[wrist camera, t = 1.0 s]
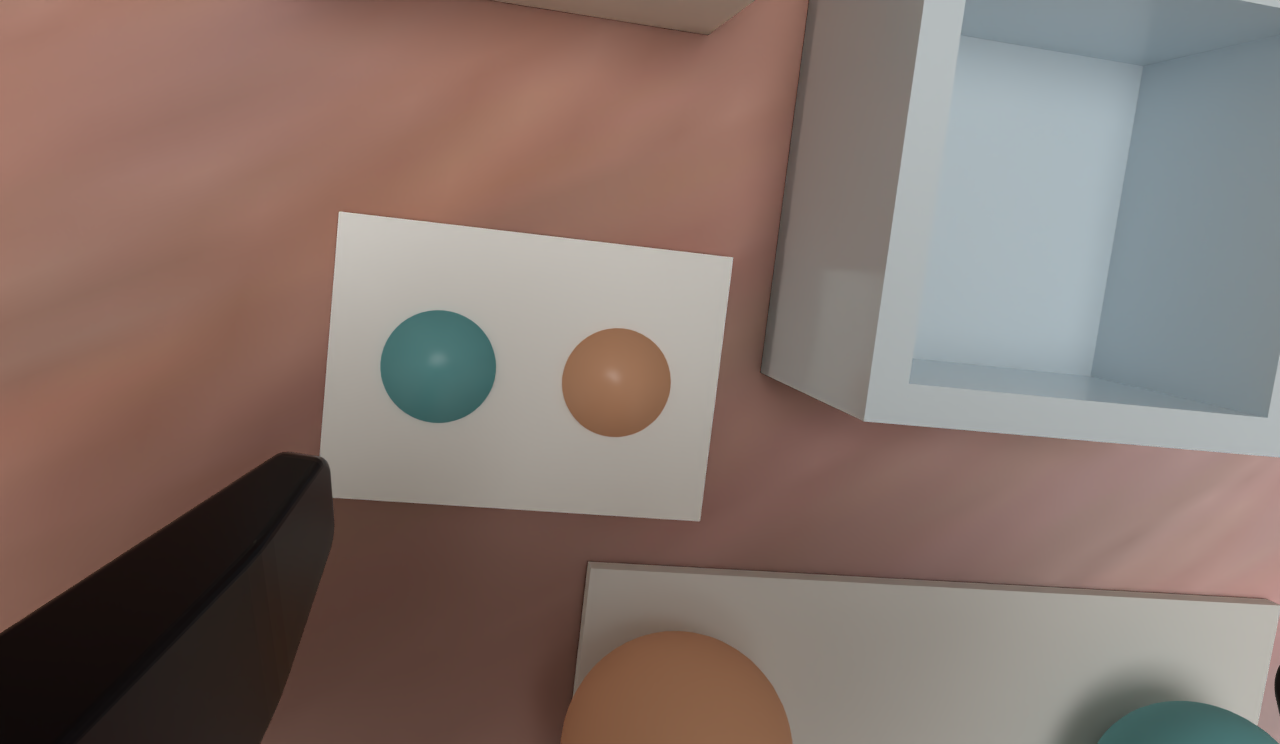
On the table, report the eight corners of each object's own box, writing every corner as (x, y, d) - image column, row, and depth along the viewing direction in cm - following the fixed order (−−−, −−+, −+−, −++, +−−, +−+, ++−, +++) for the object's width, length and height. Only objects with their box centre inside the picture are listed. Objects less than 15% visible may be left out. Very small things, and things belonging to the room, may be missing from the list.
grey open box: (1096, 404, 21) (1293, 458, 16) (760, 372, 20) (863, 420, 15) (1158, 43, 20) (1386, -16, 15) (811, -18, 19) (939, -103, 14)
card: (696, 517, 20) (700, 522, 19) (318, 492, 18) (315, 498, 18) (729, 257, 19) (734, 258, 19) (340, 211, 18) (337, 211, 17)
